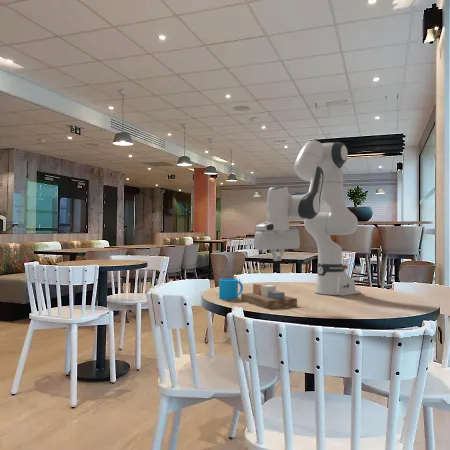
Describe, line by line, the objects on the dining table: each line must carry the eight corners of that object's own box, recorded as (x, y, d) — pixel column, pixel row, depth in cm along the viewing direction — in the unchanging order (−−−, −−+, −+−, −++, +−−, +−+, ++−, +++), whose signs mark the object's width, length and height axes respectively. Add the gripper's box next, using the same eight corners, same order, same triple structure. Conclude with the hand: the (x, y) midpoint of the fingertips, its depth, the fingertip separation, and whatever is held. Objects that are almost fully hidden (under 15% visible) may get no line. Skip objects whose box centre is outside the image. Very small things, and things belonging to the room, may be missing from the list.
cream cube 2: (269, 295, 179) (269, 284, 179) (275, 297, 175) (275, 286, 175) (260, 296, 177) (260, 285, 177) (266, 297, 173) (266, 286, 173)
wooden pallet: (268, 298, 188) (268, 291, 188) (296, 306, 171) (296, 298, 171) (241, 300, 182) (241, 293, 182) (267, 308, 164) (267, 300, 164)
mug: (226, 300, 182) (226, 281, 182) (215, 297, 188) (215, 279, 188) (248, 298, 189) (248, 279, 189) (236, 295, 196) (237, 277, 196)
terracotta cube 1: (261, 293, 185) (261, 283, 185) (267, 294, 181) (267, 284, 181) (253, 294, 182) (253, 283, 182) (258, 295, 179) (258, 284, 179)
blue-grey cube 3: (277, 302, 174) (278, 290, 174) (284, 303, 170) (284, 292, 170) (268, 302, 172) (269, 291, 172) (275, 304, 168) (275, 293, 168)
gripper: (293, 226, 179) (293, 259, 179) (252, 226, 169) (251, 261, 169) (303, 226, 173) (303, 260, 173) (260, 226, 164) (260, 262, 164)
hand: (277, 260), depth 171 cm, fingers closed
